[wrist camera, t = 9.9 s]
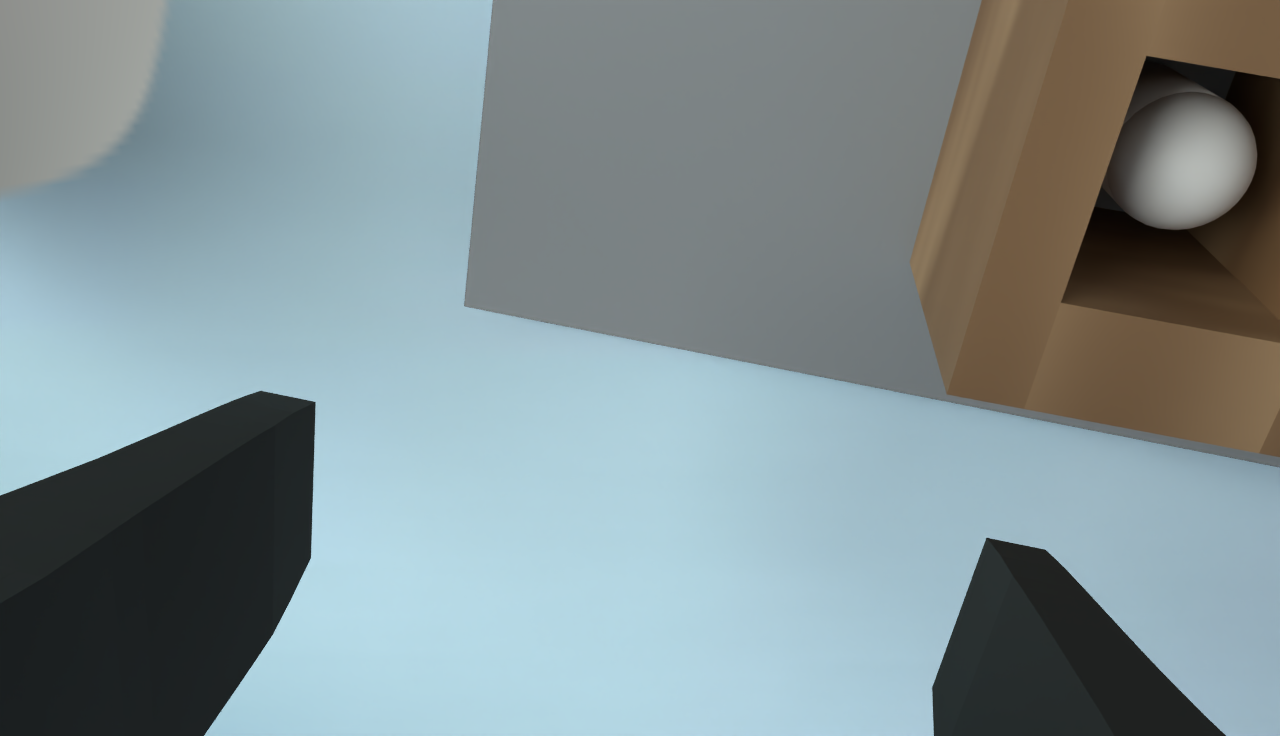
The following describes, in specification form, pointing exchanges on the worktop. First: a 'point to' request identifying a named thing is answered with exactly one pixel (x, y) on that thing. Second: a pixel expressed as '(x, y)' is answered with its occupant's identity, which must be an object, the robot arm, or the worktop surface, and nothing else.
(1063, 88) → the collar
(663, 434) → the worktop surface
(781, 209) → the hub board
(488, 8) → the worktop surface
